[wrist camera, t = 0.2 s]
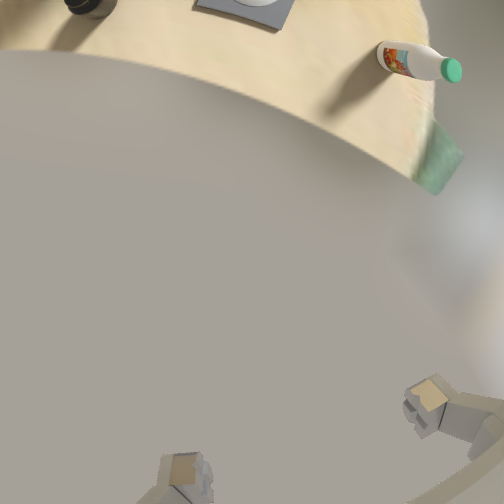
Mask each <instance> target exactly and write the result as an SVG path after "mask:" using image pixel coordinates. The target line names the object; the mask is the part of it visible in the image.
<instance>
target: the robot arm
mask: <svg viewBox="0 0 504 504" xmlns="http://www.w3.org/2000/svg"><path fill="white" fill-rule="evenodd" d="M404 396H405V397H406V400H405V401H404V403H403V410H404V414H405V416H406V418H407V420H408V421H409V422H411V423H414V424H415V427H414V430H415V431H416V432H417V434H418V435H419V436H420V438H421V439H423V438H424V437H426V436H428V435H430V434H432V433H434V432H435V431H437V430H439V431H441V432H444V433H446V434H449V435H451V436H454V437H456V438H459V439H461V440H464V441H467V442H470V443H472V446H471V448H470V450H469V451H468V454H467V456H468V458H469V459H470V460H471V463H469V464H468V465H466V466H465V467H464V468H462V469H461V470H460V471H458V472H456V473H455V474H454V475H452V476H451V477H449V478H447V479H446V480H444V481H443V482H441V483H440V484H438V485H436V486H435V487H433V488H431V489H430V490H428V491H426V492H424V493H423V494H421V495H419V496H417V497H415V498H413V499H411V500H409V501H407V502H406V503H404V504H504V400H502V399H496V398H490V397H484V396H479V395H474V394H469V393H464V392H462V393H460V394H459V393H458V392H457V391H456V390H455V389H454V388H453V387H452V386H451V385H450V384H449V383H448V382H447V381H446V380H445V379H444V378H443V377H442V376H441V375H440V374H438V373H435V374H433V375H432V376H430V377H428V378H426V379H424V380H422V381H420V382H419V383H417V384H415V385H413V386H411V387H409V388H407V389H406V390H405V394H404ZM212 482H213V473H212V469H211V467H210V465H209V463H208V462H207V461H204V460H203V455H202V454H201V453H200V452H191V453H178V454H163V455H162V456H161V459H160V465H159V471H158V478H157V484H156V486H152V488H151V489H150V490H149V491H148V492H147V493H146V494H145V495H144V496H143V497H142V498H141V499H140V500H139V501H138V502H137V503H136V504H209V503H214V500H213V499H214V498H213V489H212V488H211V487H210V485H211V484H212Z"/></svg>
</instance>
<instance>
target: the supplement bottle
mask: <svg viewBox="0 0 504 504" xmlns="http://www.w3.org/2000/svg"><path fill="white" fill-rule="evenodd" d="M64 2H65V4H66V5H67V6H68V9H69V11H70V12H71V13H73V14H75V15H79V16H83V17H87V18H91V19H99V18H102V17H105V16H106V15H108V14H109V13H110V12H112V10H113V9H114V8H115V6H116V4H117V0H64Z"/></svg>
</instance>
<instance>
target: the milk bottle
mask: <svg viewBox="0 0 504 504" xmlns="http://www.w3.org/2000/svg"><path fill="white" fill-rule="evenodd" d="M377 59H378V61H379V63H380V65H381V66H382V67H383V68H384V69H386V70H388V71H391V72H394V73H398V74H402V75H405V76H409V77H412V78H416V79H420V80H425V81H432V80H436V79H439V78H442V79H444V80H445V81H449V82H451V83H457V82H458V81H459V80H460V79H461V75H462V69H461V66H460V64H459V62H458V61H457V60H455V59H452V58H448V57H442V56H441V55H439V54H438V53H437V52H436V51H434V50H433V49H432V48H430V47H427V46H425V45H421V44H416V43H410V42H403V41H394V40H386V41H383V42H382V43H381V44H380V45H379V46H378V49H377Z"/></svg>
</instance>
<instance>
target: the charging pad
mask: <svg viewBox="0 0 504 504" xmlns="http://www.w3.org/2000/svg"><path fill="white" fill-rule="evenodd" d="M294 1H295V0H198V2H197V5H196V6H200V7H205V8H209V9H213V10H217V11H221V12H225V13H229V14H232V15H236V16H239V17H242V18H245V19H249V20H252V21H255V22H258V23H261V24H264V25H266V26H269V27H272V28H275V29H277V30H282V27H283V25H284V23H285V21H286V18H287V16H288V14H289V12H290V9H291V7H292V5H293V3H294Z"/></svg>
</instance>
